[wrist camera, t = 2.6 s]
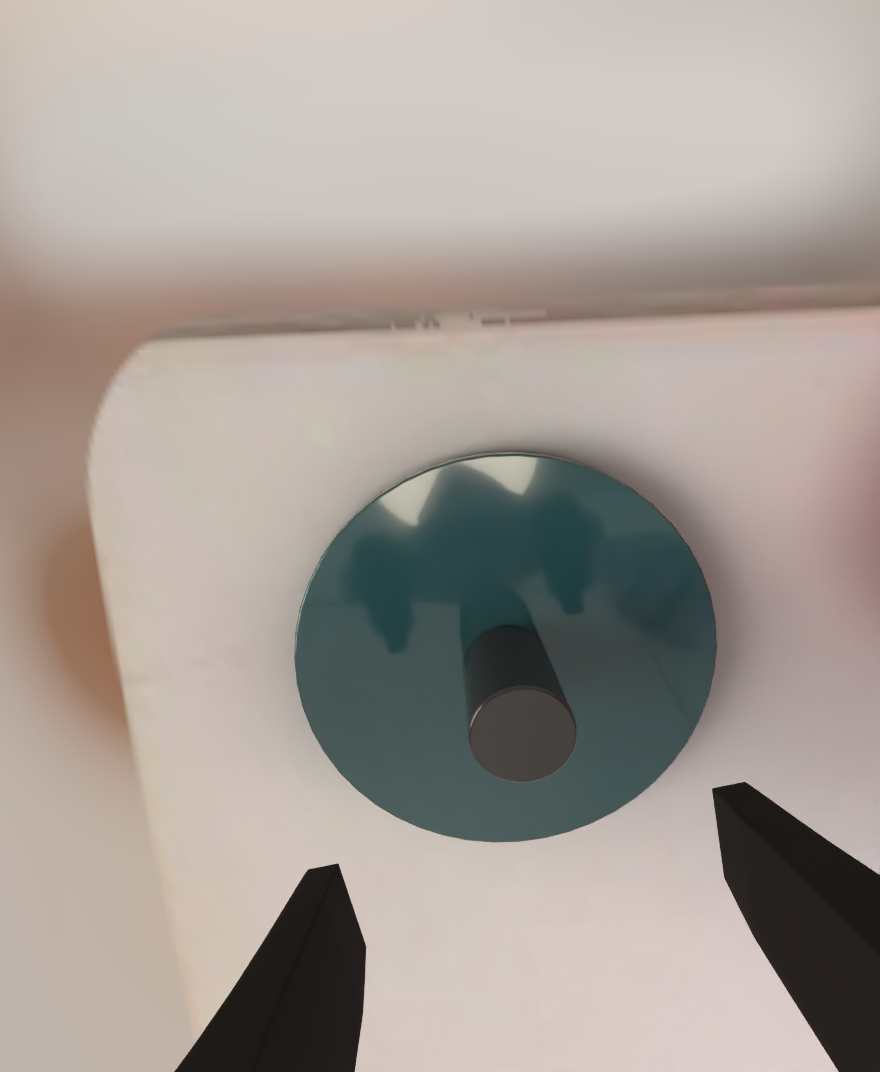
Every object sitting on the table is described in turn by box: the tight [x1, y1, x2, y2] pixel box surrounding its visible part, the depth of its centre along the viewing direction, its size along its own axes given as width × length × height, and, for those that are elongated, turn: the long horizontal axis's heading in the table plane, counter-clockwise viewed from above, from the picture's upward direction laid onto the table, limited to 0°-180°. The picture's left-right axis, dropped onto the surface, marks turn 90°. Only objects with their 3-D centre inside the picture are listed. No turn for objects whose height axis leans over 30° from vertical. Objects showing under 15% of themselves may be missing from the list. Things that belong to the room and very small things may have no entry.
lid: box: [294, 452, 717, 842], centre depth 16 cm, size 13×13×5 cm
